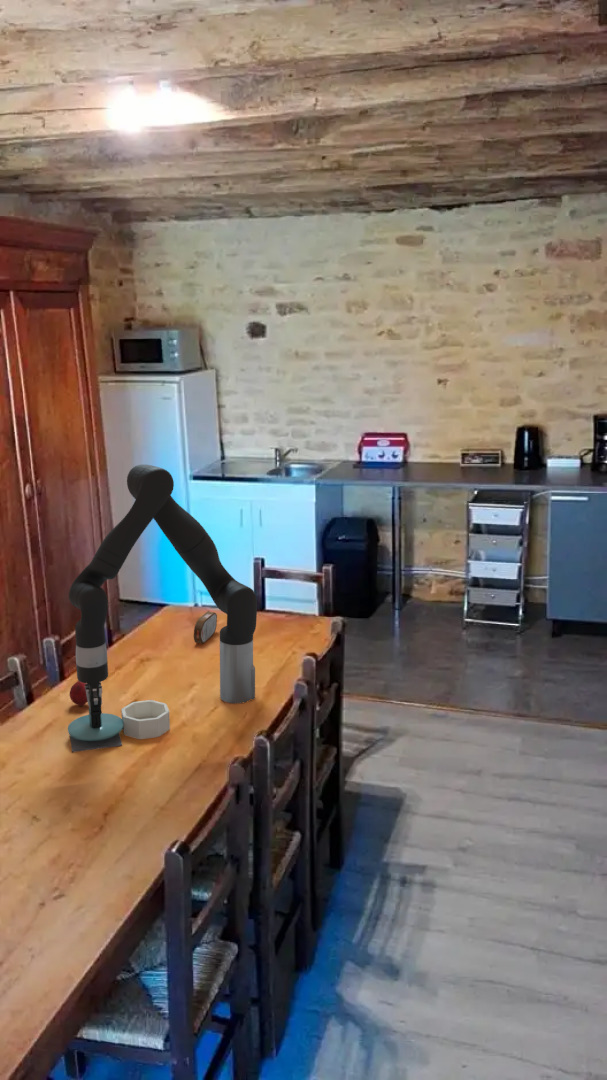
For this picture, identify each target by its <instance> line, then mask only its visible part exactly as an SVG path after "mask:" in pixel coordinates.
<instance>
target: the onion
mask: <svg viewBox="0 0 607 1080" xmlns="http://www.w3.org/2000/svg"><path fill="white" fill-rule="evenodd" d="M85 684H87V683H82V682H80V681H79V680H78V679H77V682H75V683H73V685H72V686H71V687H70V690H69V699H70V700H71V702H72V703H74V704H75V705H77V706H79V707H83V706H85V704H88V700H87V697H86V691H85Z"/></svg>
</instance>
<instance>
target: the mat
mask: <svg viewBox="0 0 607 1080" xmlns="http://www.w3.org/2000/svg"><path fill="white" fill-rule="evenodd" d="M69 737H70V739H69V740H70V746H71V752H72V753H77V752H86V751H93V750H101V749H106V748H107V749H108V748H113V747H115V748H116V747H121V746H123V743H122V740H121V739H122V738H121V735H120V733H118V734H117V735H115V736H113V737H111V738H108V739H104V740H99V741H82V740H77V739H75V738H73V737H71V736H70V735H69Z"/></svg>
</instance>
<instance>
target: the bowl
mask: <svg viewBox="0 0 607 1080" xmlns="http://www.w3.org/2000/svg"><path fill="white" fill-rule="evenodd" d="M120 712H121V719H122V720H123V729H122V732H123V735H124V736H127V737H130V738H134V739H137V740H145V739H152V738H159V737H161V736H162V735H164V734H165V733H166V732H168V731H169V730H170V729H171V727H170V725H171V724H170V722H171V721H170V720H171V719H170V709H169V707H168V705H167V703H165V702H162V701H157V700H154V699H148V700H140V701H133V702H130V703H129V704H128V705H125V706H124V707H122V708H121V711H120Z"/></svg>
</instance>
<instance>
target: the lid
mask: <svg viewBox="0 0 607 1080" xmlns="http://www.w3.org/2000/svg"><path fill="white" fill-rule="evenodd" d="M96 710H97V709H96ZM100 719H101V727H100V728H92V723H91V714H90V707H88V714H86V715H83V716H80V717H77V718H75V719H73V720H72V721H71V722H70V723H69V724H68V727H67V733H68V735H69V737H70V736H71V737H73V738H75V739H77V740H82V741H99V740H104V739H108V738H111V737H113V736H115V735H117V734H118V733H119V734H120V733H121V732H123V720H122V717H120V716H118V715H116V714H113V713H105V712H102V713H101V715H100Z"/></svg>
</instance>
